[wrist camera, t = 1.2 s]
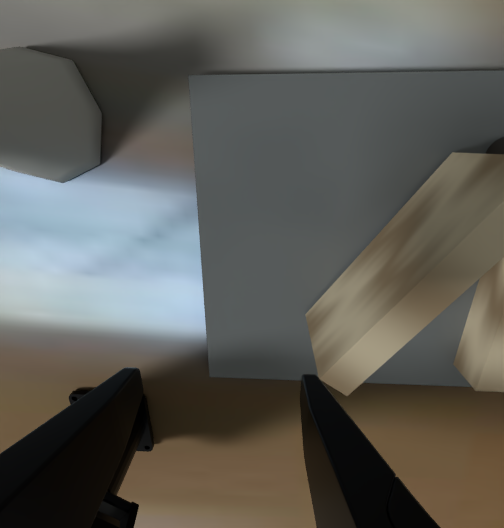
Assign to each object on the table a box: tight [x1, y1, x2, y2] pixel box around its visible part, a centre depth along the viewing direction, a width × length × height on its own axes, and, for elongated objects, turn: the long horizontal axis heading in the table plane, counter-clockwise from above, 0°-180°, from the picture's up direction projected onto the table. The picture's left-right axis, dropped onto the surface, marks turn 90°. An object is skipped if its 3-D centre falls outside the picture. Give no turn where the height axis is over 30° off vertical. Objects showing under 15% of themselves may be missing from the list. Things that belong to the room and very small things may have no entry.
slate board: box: [188, 70, 504, 387], centre depth 19 cm, size 20×20×1 cm
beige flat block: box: [305, 152, 504, 396], centre depth 15 cm, size 12×2×6 cm, turn 145°
